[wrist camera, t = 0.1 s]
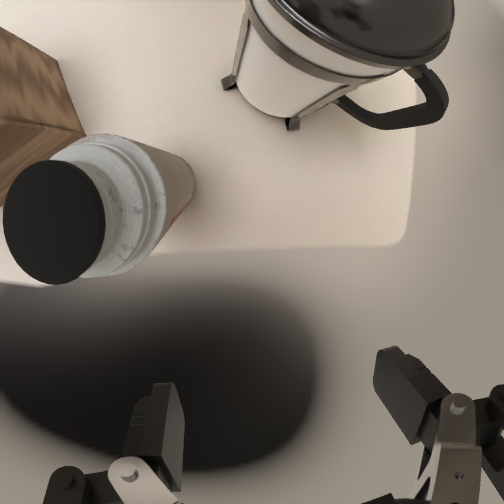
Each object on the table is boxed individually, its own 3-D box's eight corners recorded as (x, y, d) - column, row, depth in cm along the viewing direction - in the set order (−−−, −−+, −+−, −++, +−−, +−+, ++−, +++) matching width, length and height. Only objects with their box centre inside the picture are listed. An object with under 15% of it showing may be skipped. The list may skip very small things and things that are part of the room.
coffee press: (229, 146, 36) (278, 68, 7) (214, 33, 32) (225, -153, 3) (358, 136, 37) (561, 118, 9) (340, 31, 33) (480, -81, 4)
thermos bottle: (206, 197, 37) (182, 271, 10) (151, 227, 37) (37, 347, 11) (177, 141, 35) (84, 77, 8) (122, 173, 35) (-42, 194, 8)
